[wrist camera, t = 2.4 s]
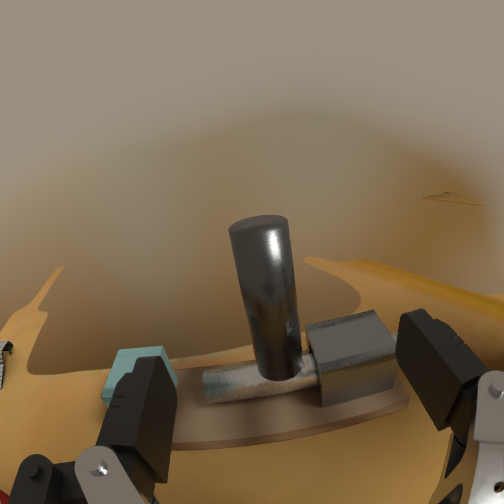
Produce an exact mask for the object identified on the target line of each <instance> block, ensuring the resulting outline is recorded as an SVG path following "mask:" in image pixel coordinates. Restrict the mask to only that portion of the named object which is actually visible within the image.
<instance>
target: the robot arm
mask: <svg viewBox="0 0 504 504" xmlns="http://www.w3.org/2000/svg"><path fill="white" fill-rule="evenodd" d="M395 354H396V359H397V362H398V364H399V366H400V368H401V369H402V371H403V372H404V374H405V376H406V377H407V379H408V381H409V382H410V384H411V385H412V387H413V389H414V390H415V392H416V394H417V395H418V397H419V399H420V400H421V402H422V404H423V406H424V407H425V409H426V411H427V412H428V414H429V416H430V418H431V419H432V421H433V423H434V425H435V426H436V428H437V430H438V432H439V431H441V430H443V429H445V428H447V427H449V426H450V427H451V429H452V433H451V435H450V439H449V444H448V449H447V453H446V457H445V461H444V465H443V469H442V473H441V477H440V480H439V483H438V485H437V487H436V489H435V491H434V493H433V495H432V497H431V499H430V501H429V503H428V504H504V372H502V371H489V370H488V369H487V368H486V367H485V365H484V364H483V363H482V362H481V361H480V360H479V358H478V357H477V356H476V355H475V354H474V353H473V351H472V350H471V349H470V348H469V347H468V346H467V345H466V344H464V341H463V340H462V339H461V338H460V337H459V336H457V334H456V333H455V331H454V330H453V329H452V328H451V327H450V326H449V325H447V324H445V323H444V322H442V321H440V320H438V319H434V320H433V318H432V317H431V316H430V315H429V314H428V313H427V312H426V311H425V310H424V309H418V310H414V311H411V312H407V313H403V314H402V315H401V317H400V322H399V329H398V335H397V341H396V347H395ZM112 396H113V398H111V401H110V403H109V408H108V409H107V412H106V415H105V418H104V421H103V424H102V427H101V430H100V433H99V436H98V440H97V443H96V445H95V446H93V447H90V448H88V449H86V450H84V451H83V452H82V453H81V454H80V455H79V456H78V458H77V460H76V461H73V462H65V463H58V464H53V463H52V462H51V461H50V460H49V459H48V458H46V457H45V456H43V455H40V454H34V455H31V456H28V457H27V458H26V459H24V460H23V462H22V463H21V465H20V467H19V469H18V472H17V475H16V478H15V482H14V485H13V488H12V491H11V495H10V498H9V502H8V504H162V503H161V501H160V500H159V498H158V497H157V496H156V494H155V493H154V487H155V483H167V479H168V470H169V462H170V454H171V446H172V438H173V431H174V423H175V416H176V409H177V392H176V388H175V385H174V383H173V381H172V379H171V377H170V374H169V372H168V370H167V368H166V365H165V363H164V361H163V359H162V357H161V356H146V357H138V358H137V359H136V362H135V365H134V368H133V371H132V372H130V373H125V374H124V375H123V377H122V378H121V379H120V380H119V381H118V382H117V384H116V387H115V389H114V392H113V395H112Z"/></svg>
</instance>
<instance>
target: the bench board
mask: <svg viewBox="0 0 504 504" xmlns="http://www.w3.org/2000/svg"><path fill="white" fill-rule="evenodd" d="M306 354H307V350H306V351H302V355H306ZM251 364H257V363H256V360H251V361H245V362H238V363H231V364H224V365H216V366H208V367H199V368H190V369H180V370H174V372H175V375H176V377H177V379H178V382H177V387H176V392H177V409H176V416H175V423H174V431H173V438H172V446H171V450H202V449H218V448H230V447H240V446H249V445H257V444H264V443H271V442H277V441H283V440H289V439H294V438H300V437H305V436H309V435H314V434H319V433H323V432H327V431H331V430H335V429H339V428H343V427H347V426H351V425H354V424H358V423H361V422H365V421H368V420H371V419H374V418H378V417H381V416H384V415H387V414H390V413H392V412H395V411H398V410H401V409H404V408H406V407H407V404H408V401H409V396H408V394H407V393H406V391H405V389H404V387H403V386H402V384H401V382H400V380H399V379H398V377H397V375H396V378H395V382H394V386H393V388H392V389H389V390H386V391H383V392H380V393H377V394H373V395H370V396H367V397H363V398H360V399H356V400H353V401H349V402H345V403H341V404H337V405H333V406H329V407H325V408H322V406H321V403H320V393H319V386H316V387H312V388H307V389H302V390H297V391H292V392H287V393H281V394H275V395H269V396H263V397H257V398H250V399H243V400H235V401H227V402H218V403H208V401H207V399H206V397H205V393H204V388H203V372H204V371H207V370H215V369H223V368H231V367H238V366H245V365H251Z"/></svg>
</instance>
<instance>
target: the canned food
mask: <svg viewBox="0 0 504 504" xmlns="http://www.w3.org/2000/svg"><path fill="white" fill-rule="evenodd" d="M9 498H10V497H9V496H8V495H7V494H5V493H4V492H3V491H1V490H0V504H8V502H9Z"/></svg>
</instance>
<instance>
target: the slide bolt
mask: <svg viewBox="0 0 504 504" xmlns="http://www.w3.org/2000/svg"><path fill="white" fill-rule="evenodd" d="M229 235H230V240H231V245H232V250H233V255H234V260H235V264H236V269H237V274H238V278H239V284H240V288H241V293H242V298H243V303H244V307H245V312H246V316H247V321H248V326H249V331H250V335H251V340H252V344H253V349H254V354H255V358H256V363H257V364H251V365H245V366H238V367H231V368H223V369H215V370H207V371H204V372H203V388H204V393H205V397H206V399H207V401H208V403H218V402H227V401H235V400H243V399H250V398H257V397H263V396H269V395H275V394H281V393H287V392H292V391H297V390H302V389H307V388H312V387H316V386H319V369H318V366H317V363H316V360H315V357H314V354H313V353H311V354H306V355H302V347H301V335H300V325H299V315H298V305H297V295H296V286H295V277H294V269H293V259H292V251H291V243H290V235H289V227H288V220H287V219H286V218H285V217H282V216H278V215H262V216H255V217H250V218H246V219H243V220H240V221H238V222H236V223H234V224H233V225H231V226H230V227H229ZM390 335H391V336H392V338H393V339H394V341H395V342H396V341H397V335H398V332H394V333H391V334H390Z"/></svg>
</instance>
